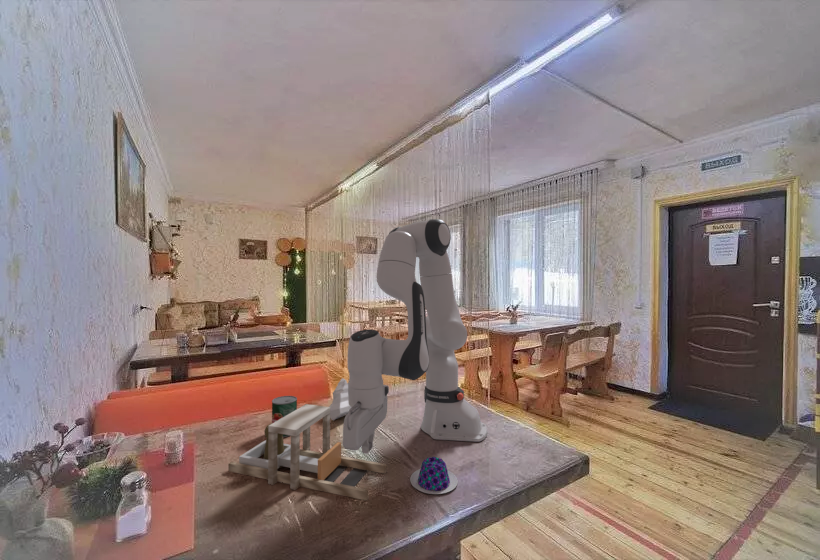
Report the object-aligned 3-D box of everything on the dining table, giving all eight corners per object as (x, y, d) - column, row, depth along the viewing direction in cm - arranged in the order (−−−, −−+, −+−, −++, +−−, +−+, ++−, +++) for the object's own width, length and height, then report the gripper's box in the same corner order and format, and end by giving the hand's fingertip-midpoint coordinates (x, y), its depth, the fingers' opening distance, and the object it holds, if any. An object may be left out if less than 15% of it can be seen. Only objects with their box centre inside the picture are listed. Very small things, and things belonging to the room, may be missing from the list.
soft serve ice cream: (317, 422, 128) (313, 382, 132) (346, 413, 141) (342, 377, 144) (341, 421, 122) (336, 379, 125) (369, 411, 134) (364, 374, 137)
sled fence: (341, 464, 95) (341, 442, 95) (321, 484, 86) (321, 460, 86) (265, 450, 103) (265, 430, 103) (239, 467, 93) (239, 445, 93)
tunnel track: (388, 468, 94) (389, 414, 94) (363, 504, 79) (363, 440, 79) (266, 446, 106) (266, 398, 106) (223, 474, 91) (223, 418, 91)
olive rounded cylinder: (275, 472, 92) (276, 430, 92) (257, 467, 94) (257, 427, 94) (290, 460, 98) (290, 421, 98) (273, 457, 100) (273, 418, 100)
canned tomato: (266, 435, 114) (266, 401, 114) (283, 426, 121) (283, 394, 121) (285, 439, 111) (285, 405, 111) (301, 429, 118) (302, 397, 118)
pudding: (417, 466, 96) (417, 447, 96) (461, 474, 93) (461, 454, 93) (403, 491, 85) (404, 470, 85) (453, 501, 81) (453, 478, 81)
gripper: (360, 412, 77) (362, 475, 77) (391, 384, 97) (392, 434, 97) (334, 410, 79) (336, 471, 79) (369, 383, 98) (370, 431, 98)
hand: (367, 450), depth 88 cm, fingers closed
